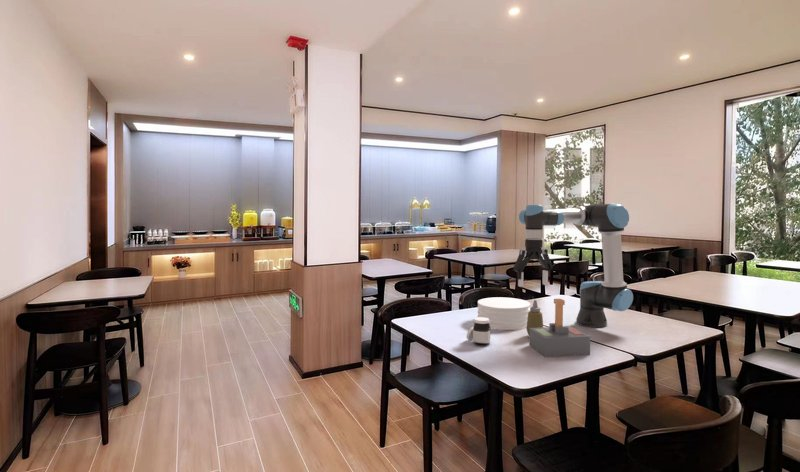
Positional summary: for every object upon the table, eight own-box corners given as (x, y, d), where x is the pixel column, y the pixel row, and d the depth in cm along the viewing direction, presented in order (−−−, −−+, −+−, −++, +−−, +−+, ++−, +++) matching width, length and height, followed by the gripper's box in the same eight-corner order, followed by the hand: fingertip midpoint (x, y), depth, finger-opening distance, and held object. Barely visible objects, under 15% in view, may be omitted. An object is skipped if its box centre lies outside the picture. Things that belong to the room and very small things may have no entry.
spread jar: (488, 347, 191) (488, 322, 190) (463, 345, 195) (463, 320, 194) (492, 340, 202) (492, 316, 201) (468, 337, 206) (468, 314, 205)
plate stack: (541, 324, 229) (541, 303, 228) (505, 333, 213) (505, 310, 213) (501, 314, 252) (501, 295, 251) (467, 321, 236) (467, 301, 236)
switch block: (570, 343, 196) (571, 319, 195) (589, 354, 180) (590, 329, 179) (529, 345, 194) (529, 321, 193) (545, 357, 178) (545, 331, 177)
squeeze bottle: (534, 340, 201) (535, 302, 200) (522, 335, 208) (523, 299, 207) (547, 337, 205) (547, 301, 204) (534, 333, 212) (535, 297, 211)
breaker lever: (559, 330, 189) (560, 298, 188) (564, 332, 185) (564, 300, 184) (553, 330, 188) (553, 298, 187) (557, 332, 184) (558, 300, 183)
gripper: (550, 237, 199) (549, 282, 200) (505, 239, 189) (505, 285, 191) (561, 238, 192) (560, 285, 193) (516, 240, 183) (515, 288, 184)
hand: (533, 285), depth 192 cm, fingers open, 13 cm apart
